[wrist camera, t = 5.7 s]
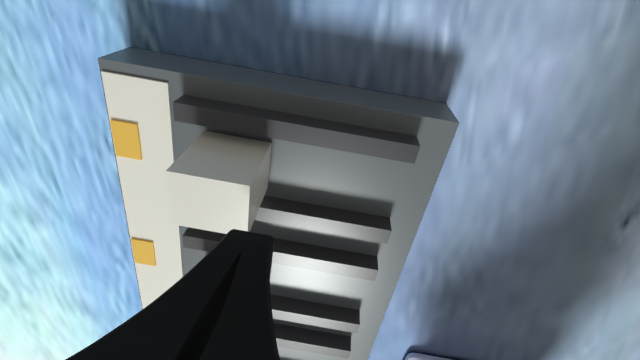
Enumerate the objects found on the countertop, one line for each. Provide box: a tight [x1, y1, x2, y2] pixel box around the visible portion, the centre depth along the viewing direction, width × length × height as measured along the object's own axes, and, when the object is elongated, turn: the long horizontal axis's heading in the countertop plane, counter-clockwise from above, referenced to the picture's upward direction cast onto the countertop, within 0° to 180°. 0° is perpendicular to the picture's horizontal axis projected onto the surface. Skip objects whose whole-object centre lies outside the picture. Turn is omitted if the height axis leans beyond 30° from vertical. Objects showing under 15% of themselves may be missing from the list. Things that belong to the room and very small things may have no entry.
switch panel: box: [98, 47, 459, 360], centre depth 20 cm, size 15×21×3 cm
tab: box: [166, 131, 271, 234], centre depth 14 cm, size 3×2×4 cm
